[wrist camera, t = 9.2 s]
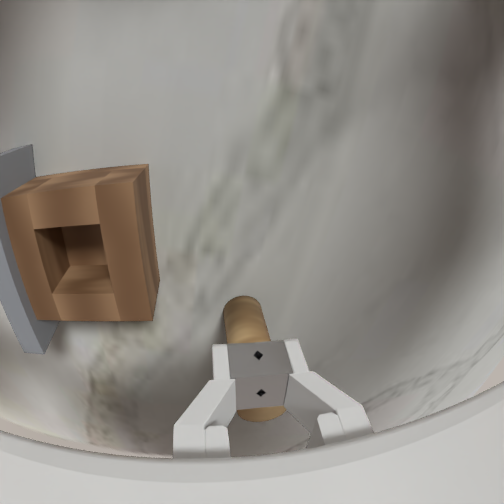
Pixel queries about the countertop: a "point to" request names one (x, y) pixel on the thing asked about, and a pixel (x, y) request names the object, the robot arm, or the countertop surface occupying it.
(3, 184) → the backstop
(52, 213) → the block
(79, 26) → the countertop surface
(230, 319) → the dowel
